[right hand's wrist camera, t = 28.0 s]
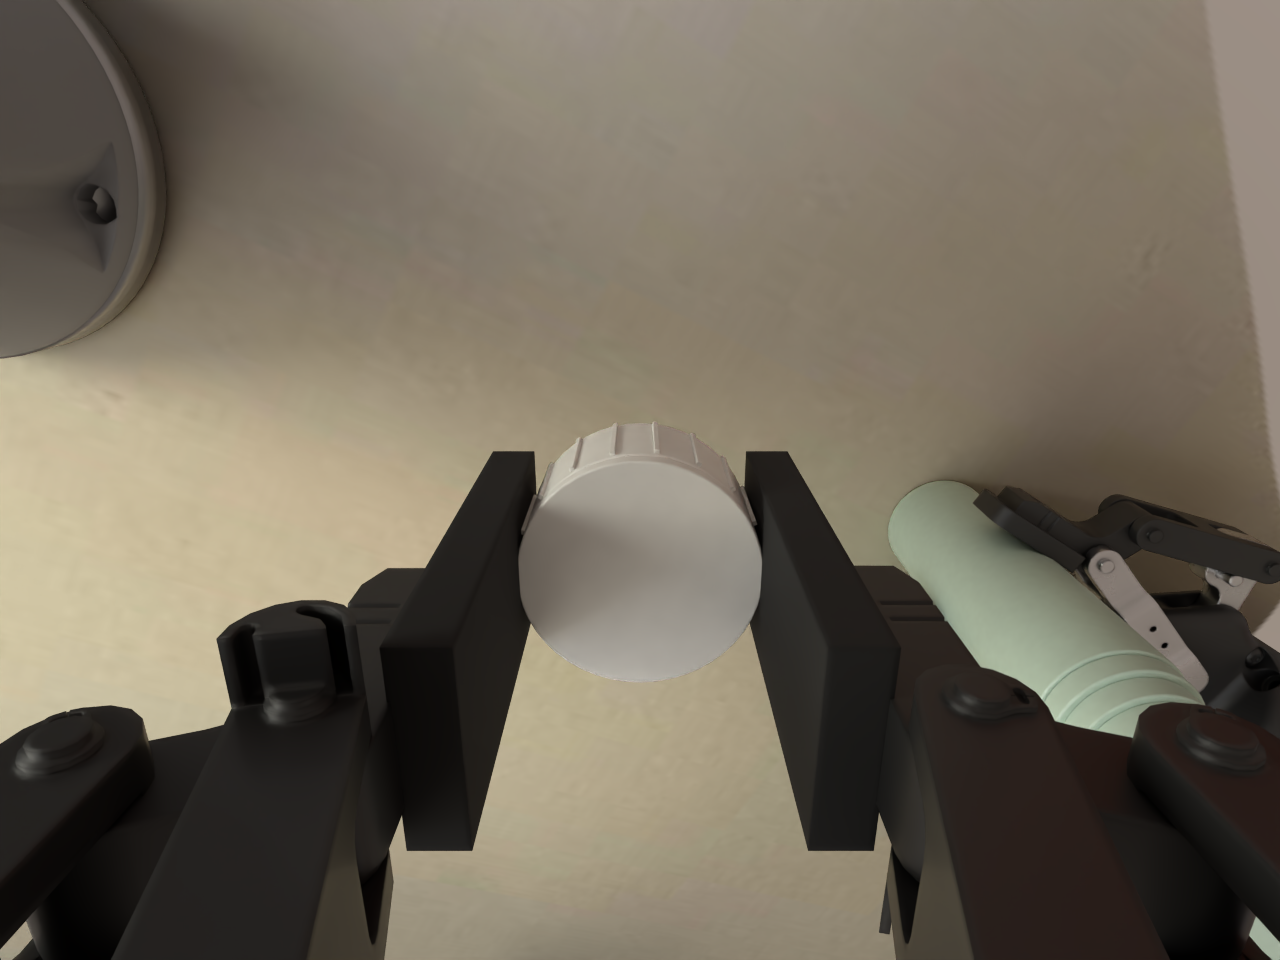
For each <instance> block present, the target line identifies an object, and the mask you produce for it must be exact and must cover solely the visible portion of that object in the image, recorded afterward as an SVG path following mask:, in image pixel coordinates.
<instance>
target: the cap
mask: <svg viewBox="0 0 1280 960" xmlns="http://www.w3.org/2000/svg"><path fill="white" fill-rule="evenodd" d="M755 525H757V522H756V519H755V516H754V514H753V511H752V508H751V505H750V503H749V500H748V497H747V494H746V491H745V489H744V486H741V487H740V486H739V483H738V481H737V479H736V477H735V475H734V474H733V472H732V471H731V469H730V468H729V466H728V464H727V461H726V458H725V457H724V456H723V455H722V456H721V457H720V456H719V455H718V454H717V453H716V452H715V451H714V450H713V449H712V448H710V447H709V446H708V445H707V444H705V443H704V442H702V441H700V440H699V439H697V438H696V435H695V434H694V433H692V432H691V434H687V433H685V432H683V431H680V430H677V429H674V428H671V427H668V426H663V425H658V422H655V421H653V424H646V423H634V424H623V425H618V423H614V424H613V427H609V428H606V429H603V430H600V431H597V432H595V433H593V434H590V435H589V436H587V437H584V438H583V439H581V437H579V438H578V439H576V443H575V444H574V445H572V446H571V447H570V448H569V449H568V450H566V451H565V452H564V453H563V454H562V455H561V456H560V457H559V458H558V459H557V461H556V462H555V463H552V462H551V463H550V464H549V466H548V469H547V472H546V475H545V477H544V480H543V482H542V484H541V486H540V488H539V491H538V494H537V495H535V494H534V496H533V498H532V501H531V504H530V507H529V510H528V512H527V515H526V518H525V521H524V524H523V526H522V529H521V534H522V535H523V538H522V541H521V544H520V547H519V552H518V564H519V581H520V596H521V602H522V605H523V608H524V610H525V612H526V614H527V617H528V619H529V620H530V622H531V624H532V625H533V627H534V628H535V630H536V632H537V633H538V634H539V635H540V637H541V638H542V639H543V640H544V641H545V643H546V644H547V645H548V646H550V647H551V648H552V649H553V650H554V651H555V652H556V653H557V654H559V655H560V656H561V657H563V658H564V659H565V660H567V661H568V662H570V663H572V664H573V665H575V666H577V667H579V668H580V669H583V670H585V671H587V672H590V673H592V674H595V675H598V676H601V677H605V678H608V679H613V680H619V681H625V682H655V681H661V680H667V679H672V678H676V677H679V676H683V675H686V674H688V673H690V672H693V671H695V670H698V669H700V668H702V667H703V666H705V665H707V664H709V663H711V662H712V661H714V660H715V659H716V658H718V657H719V656H720V655H722V654H723V653H724V652H725V651H726V650H728V649H729V648H730V647H731V646H732V645H733V644H734V643H735V642H736V641H737V639H738V638H739V637H740V636H741V634H742V633H743V632H744V631H745V629H746V627H747V626H748V624H749V622H750V621H751V619H752V617H753V615H754V613H755V610H756V608H757V606H758V603H759V599H760V589H761V573H762V550H761V546H760V543H759V540H758V537H757V533H756V531H755V528H754V526H755Z"/></svg>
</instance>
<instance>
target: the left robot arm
mask: <svg viewBox="0 0 1280 960" xmlns="http://www.w3.org/2000/svg"><path fill="white" fill-rule="evenodd" d="M973 504H974V505H975V506H976V507H977V508H978V509H979V510H980V511H981V512H983V513H984V514H985V515H986V516H987V517H988V518H989V519H990V520H992V521H993V522H994V523H996V524H997V525H998V526H1000V527H1001V528H1003V529H1004V530H1006V531H1007V532H1009V533H1011V534H1012V535H1014V536H1015V537H1017V538H1018V539H1020V540H1022V541H1023V542H1025V543H1026V544H1028V545H1029V546H1031V547H1033V548H1034V549H1036V550H1037V551H1039V552H1041V553H1042V554H1044V555H1045V556H1047V557H1049V558H1051V559H1053V560H1054V561H1056V562H1057V563H1058V564H1060V565H1061V566H1063V567H1064V568H1066V569H1067V570H1069V571H1070V572H1072V573H1073V572H1074V573H1075V574H1076V575H1075V577H1076V579H1077V580H1078V581H1079V582H1080V583H1081V584H1082V585H1084V586H1085V587H1086V588H1087V589H1088V590H1089V591H1090V592H1092V593H1093V594H1094V595H1095V596H1096V597H1097V598H1099V599H1100V600H1101V601H1102V602H1103V603H1104V604H1105V605H1107V606H1108V607H1109V608H1110V609H1111V610H1112V611H1113V612H1115V613H1116V614H1117V615H1118V616H1119V617H1120V618H1121V619H1123V620H1124V621H1125V622H1126V623H1127V624H1128V625H1129V626H1131V627H1132V628H1133V629H1134V630H1135V631H1136V632H1137V633H1139V634H1140V635H1141V636H1142V637H1143V638H1144V639H1145V640H1147V641H1148V642H1149V643H1150V644H1151V645H1152V646H1153V647H1155V648H1156V649H1157V650H1158V651H1159V652H1160V653H1161V654H1163V655H1164V656H1165V657H1166V658H1167V659H1168V660H1170V661H1171V662H1172V663H1173V664H1174V665H1175V666H1176V667H1177V668H1178V669H1179V670H1180V671H1181V673H1182V674H1183V676H1184V677H1185V679H1186V680H1187V681H1188V682H1189V683H1191V684H1192V685H1193V686H1194V687H1195V688H1196V689H1197V691H1198V692H1199V694H1200V695H1201V697H1202V699H1203V701H1204V703H1205V705H1206V706H1211V707H1212V708H1214V709H1216V708H1218V709H1222V710H1225V711H1228V712H1231V713H1233V714H1235V715H1236V716H1238V717H1240V718H1242V719H1245V720H1247V721H1249V722H1252V723H1254V724H1256V725H1259V726H1260V727H1262V728H1263V729H1265V730H1267V731H1268V732H1270V733H1271V734H1273V735H1274V736H1276V737H1277V738H1279V739H1280V653H1279V652H1277V651H1276V650H1274V649H1273V648H1271V647H1270V646H1268V645H1267V644H1265V643H1263V642H1262V641H1260V640H1259V639H1257V638H1256V637H1254V636H1253V635H1252V634H1251V633H1250V630H1249V627H1248V624H1247V621H1246V619H1245V618H1244V616H1243V615H1242V614H1241V613H1240V612H1239V609H1240V607H1241V606H1242V604H1243V603H1244V601H1245V600H1246V598H1247V596H1248V595H1249V593H1250V592H1251V590H1252V589H1253V587H1254V585H1255V584H1256V582H1261V583H1265V584H1273V583H1276V582H1278V581H1280V552H1278V551H1276V550H1275V549H1273V548H1271V547H1270V546H1268V545H1266V544H1264V543H1262V542H1261V541H1259V540H1257V539H1255V538H1253V537H1252V536H1249V535H1248V534H1246V533H1244V532H1242V531H1240V530H1239V529H1237V528H1235V527H1232V526H1228V525H1225V524H1221V523H1218V522H1215V521H1211V520H1208V519H1204V518H1201V517H1197V516H1194V515H1190V514H1187V513H1183V512H1180V511H1176V510H1173V509H1169V508H1166V507H1162V506H1159V505H1155V504H1152V503H1148V502H1145V501H1141V500H1138V499H1134V498H1131V497H1127V496H1124V495H1120V494H1116V495H1112V496H1109V497H1107V498H1106V499H1105V500H1103V502H1102V503H1101V504H1100V506H1099V509H1098V514H1097V515H1096V516H1094V517H1092V518H1091V519H1089V520H1086V521H1083V522H1073V521H1070V520H1068V519H1066V518H1065V517H1063V516H1062V515H1060V514H1058V513H1057V512H1055V511H1054V510H1052V509H1051V508H1049V507H1048V506H1046V505H1045V504H1043V503H1042V502H1040V501H1038V500H1037V499H1035V498H1034V497H1032V496H1031V495H1029V494H1028V493H1026V492H1025V491H1023V490H1022V489H1020V488H1014V487H1008V486H1006V487H1005V488H1004V490H1003V491H1002V492H1001V493H1000V494H999V495H998V496H996V495H995V494H993V493H992V492H990V491H989V490H987V489H985V488H984V490H983V491H982V492H981V493H980V494H979V496H978V497H977V498H976V499H975V500H974V502H973ZM1141 549H1144V550H1146V551H1150V552H1154V553H1157V554H1161V555H1164V556H1168V557H1171V558H1175V559H1179V560H1182V561H1186V562H1189V567H1190V570H1191V571H1192V572H1193V573H1194V574H1196V575H1197V576H1199V577H1200V578H1202V580H1203V584H1204V585H1203V590H1202V591H1181V592H1165V593H1150V594H1148V593H1147V592H1146V591H1145V590H1144V588H1143V587H1142V586H1141V585H1140V583H1139V582H1138V580H1137V579H1136V577H1135V576H1134V574H1133V573H1132V572H1131V570H1130V569H1129V567H1128V566H1127V564H1126V563H1125V561H1124V559H1126V558H1128V557H1129V556H1131V555H1133V554H1134V553H1136V552H1138V551H1139V550H1141Z"/></svg>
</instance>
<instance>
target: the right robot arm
mask: <svg viewBox="0 0 1280 960" xmlns="http://www.w3.org/2000/svg"><path fill="white" fill-rule="evenodd" d="M165 213H166V181H165V169H164V162H163V156H162V150H161V146H160V142H159V138H158V133H157V129H156V126H155V123H154V120H153V117H152V114H151V111H150V108H149V106H148V103H147V101H146V99H145V96H144V94H143V92H142V89H141V87H140V85H139V83H138V81H137V79H136V77H135V75H134V73H133V71H132V70H131V68H130V66H129V64H128V62H127V61H126V59H125V57H124V56H123V54H122V53H121V51H120V49H119V48H118V46H117V45H116V43H115V42H114V40H113V39H112V38H111V36H110V35H109V33H108V32H107V31H106V29H105V28H104V27H103V25H102V24H101V23H100V21H99V20H98V19H97V18H96V17H95V16H94V14H93V13H92V12H91V11H90V10H89V9H88V7H87V6H86V5H85V4H84V3H83V2H82V1H81V0H0V358H9V357H15V356H22V355H26V354H30V353H33V352H37V351H41V350H45V349H49V348H53V347H56V346H60V345H64V344H68V343H70V342H73V341H75V340H78V339H81V338H83V337H85V336H87V335H89V334H91V333H93V332H94V331H96V330H98V329H100V328H101V327H103V326H104V325H105V324H107V323H108V322H110V321H111V320H112V319H113V318H115V317H116V316H117V315H118V314H119V313H120V312H121V311H122V310H123V309H124V308H125V307H126V306H127V305H128V304H129V303H130V301H131V300H132V299H133V298H134V297H135V295H136V294H137V292H138V291H139V289H140V288H141V286H142V285H143V283H144V282H145V280H146V278H147V276H148V274H149V272H150V270H151V268H152V266H153V263H154V261H155V258H156V255H157V252H158V250H159V246H160V242H161V238H162V234H163V228H164V220H165ZM744 489H745V491H746V494H747V497H748V500H749V503H750V505H751V508H752V511H753V514H754V516H755V519H756V522H757V525H755V526H754V528H755V531H756V533H757V537H758V540H759V543H760V546H761V550H762V573H761V589H760V599H759V603H758V606H757V608H756V610H755V613H754V615H753V617H752V619H751V621H750V626H751V630H752V634H753V638H754V642H755V645H756V649H757V653H758V657H759V661H760V665H761V669H762V673H763V677H764V680H765V684H766V688H767V692H768V696H769V700H770V704H771V708H772V712H773V715H774V719H775V723H776V727H777V731H778V735H779V739H780V743H781V747H782V750H783V754H784V758H785V762H786V766H787V770H788V774H789V778H790V782H791V785H792V789H793V793H794V797H795V801H796V805H797V809H798V813H799V817H800V820H801V824H802V828H803V832H804V836H805V840H806V844H807V848H808V851H874V845H875V837H876V830H877V823H878V815H879V813H880V816H881V818H882V821H883V823H884V826H885V829H886V831H887V834H888V836H889V839H890V841H891V844H892V846H891V853H890V860H889V867H888V873H887V880H886V887H885V894H884V901H883V908H882V914H881V922H880V929H879V933H885V934H890V928H891V922H892V930H893V938H894V946H895V954H896V960H1272V959H1271V958H1270V957H1269V956H1268V955H1267V954H1266V953H1264V952H1263V951H1262V950H1261V949H1260V947H1259V946H1258V945H1257V944H1256V943H1255V942H1254V941H1253V939H1252V938H1251V937H1250V936H1249V934H1250V931H1251V929H1252V926H1253V923H1254V921H1255V918H1256V917H1257V918H1258V919H1259V920H1260V921H1261V922H1262V924H1263V925H1264V926H1265V927H1266V928H1267V929H1268V930H1269V931H1270V932H1271V933H1272V935H1273V936H1274V937H1275V938H1276V939H1277V940H1278V941H1279V942H1280V739H1279V738H1277V737H1276V736H1274V735H1273V734H1271V733H1270V732H1268V731H1267V730H1265V729H1263V728H1262V727H1260V726H1259V725H1256V724H1254V723H1252V722H1249V721H1247V720H1245V719H1242V718H1240V717H1238V716H1236V715H1235V714H1233V713H1231V712H1228V711H1225V710H1222V709H1218V708H1216V709H1214V708H1212V707H1211V706H1206V705H1201V704H1189V703H1177V702H1168V703H1162V704H1156V705H1151V706H1149V707H1148V708H1147V709H1146V710H1144V711H1143V712H1142V713H1141V714H1140V715H1139V717H1138V721H1137V724H1136V728H1135V732H1134V736H1133V738H1132V737H1127V736H1122V735H1117V734H1112V733H1107V732H1102V731H1097V730H1091V729H1086V728H1081V727H1076V726H1073V725H1069V724H1065V723H1061V722H1057V721H1055V720H1054V718H1053V716H1052V714H1051V712H1050V710H1049V708H1048V706H1047V705H1046V704H1045V703H1044V701H1043V700H1042V699H1041V698H1040V696H1039V695H1038V694H1037V693H1036V692H1035V691H1033V690H1032V689H1031V688H1029V687H1028V686H1026V685H1025V684H1023V683H1022V682H1020V681H1019V680H1017V679H1015V678H1012V677H1010V676H1008V675H1005V674H1003V673H1000V672H998V671H995V670H993V669H988V668H983V667H980V665H979V664H978V663H977V661H976V660H975V658H974V657H973V656H972V654H971V653H970V652H969V650H968V649H967V647H966V646H965V645H964V643H963V642H962V641H961V639H960V638H959V636H958V635H957V634H956V632H955V631H954V630H953V628H952V627H951V625H950V624H949V623H948V621H945V620H944V616H943V614H942V613H941V612H940V610H939V609H938V608H937V606H936V605H933V601H932V599H931V598H930V597H929V595H928V594H927V592H926V591H925V590H924V588H923V587H922V586H921V584H920V583H919V582H918V581H916V580H915V579H913V578H912V577H910V576H909V575H907V574H905V573H904V572H902V571H901V570H899V569H898V568H896V567H894V566H854V565H853V564H852V562H851V560H850V558H849V557H848V555H847V553H846V551H845V550H844V548H843V546H842V545H841V543H840V541H839V539H838V538H837V536H836V534H835V533H834V531H833V529H832V527H831V526H830V524H829V522H828V520H827V519H826V517H825V515H824V514H823V512H822V510H821V508H820V507H819V505H818V503H817V502H816V500H815V498H814V496H813V495H812V493H811V491H810V490H809V488H808V486H807V484H806V483H805V481H804V479H803V477H802V476H801V474H800V472H799V471H798V469H797V467H796V465H795V464H794V462H793V460H792V459H791V457H790V455H789V453H788V452H787V451H746V466H745V486H744ZM534 494H535V495H536V476H535V456H534V451H493V453H492V454H491V456H490V458H489V459H488V461H487V463H486V465H485V466H484V468H483V470H482V471H481V473H480V475H479V477H478V478H477V480H476V482H475V484H474V485H473V487H472V489H471V490H470V492H469V494H468V496H467V497H466V499H465V501H464V502H463V504H462V506H461V508H460V509H459V511H458V513H457V515H456V516H455V518H454V520H453V521H452V523H451V525H450V527H449V528H448V530H447V532H446V533H445V535H444V537H443V539H442V540H441V542H440V544H439V546H438V547H437V549H436V551H435V552H434V554H433V556H432V558H431V559H430V561H429V563H428V564H427V566H426V568H387V569H386V570H384V571H383V572H381V573H379V574H378V575H376V576H375V577H373V578H372V579H370V580H368V581H367V582H365V583H364V584H362V585H361V587H360V588H359V589H358V591H357V592H356V594H355V595H354V596H353V598H352V599H351V600H350V602H349V603H348V608H347V607H346V606H344V605H342V604H338V603H334V602H329V601H325V600H301V601H295V602H289V603H283V604H278V605H274V606H271V607H268V608H265V609H262V610H259V611H256V612H253V613H250V614H249V615H247V616H245V617H243V618H242V619H240V620H238V621H236V622H235V623H233V624H231V625H229V626H228V627H227V628H226V630H225V631H224V632H223V633H222V634H221V635H220V636H219V637H218V638H217V644H218V648H219V653H220V657H221V662H222V666H223V671H224V675H225V680H226V685H227V689H228V694H229V698H230V703H231V707H232V709H231V711H230V713H229V715H228V717H227V719H226V721H225V724H224V725H221V726H218V727H214V728H210V729H206V730H201V731H196V732H191V733H186V734H181V735H176V736H171V737H166V738H161V739H156V740H151V741H148V737H147V733H146V729H145V726H144V722H143V718H141V717H140V716H139V715H138V714H137V713H135V712H134V711H133V710H132V709H128V708H122V707H117V706H111V705H110V706H99V707H86V708H79V709H74V710H70V712H66V711H65V712H62V713H59V714H56V715H52V716H50V717H48V718H46V719H45V720H43V721H41V722H38V723H36V724H34V725H32V726H29V727H27V728H25V729H23V730H21V731H19V732H18V733H16V734H15V735H13V736H12V737H10V738H9V739H7V740H6V741H4V742H3V743H1V744H0V949H1V948H2V947H3V946H4V945H5V943H6V942H7V941H8V940H9V939H10V938H11V937H12V936H13V935H14V933H15V932H16V931H17V930H18V929H19V928H20V927H21V926H22V925H23V923H24V922H25V921H27V924H28V927H29V929H30V932H31V935H32V937H33V939H32V940H31V941H30V942H29V943H28V945H27V946H26V947H25V948H24V949H23V950H22V951H21V953H20V954H19V955H17V956H16V957H15V958H14V959H13V960H384V956H385V948H386V940H387V931H388V923H389V915H390V907H391V899H392V890H393V882H394V881H393V874H392V867H391V860H390V853H389V847H390V844H391V842H392V839H393V837H394V834H395V831H396V829H397V826H398V824H399V821H400V818H401V816H402V819H403V826H404V833H405V841H406V848H407V851H472V850H473V846H474V842H475V838H476V834H477V830H478V826H479V822H480V819H481V815H482V811H483V807H484V803H485V799H486V795H487V791H488V787H489V784H490V780H491V776H492V772H493V768H494V764H495V760H496V756H497V752H498V749H499V745H500V741H501V737H502V733H503V729H504V725H505V721H506V717H507V714H508V710H509V706H510V702H511V698H512V694H513V690H514V686H515V682H516V679H517V675H518V671H519V667H520V663H521V659H522V655H523V651H524V647H525V644H526V640H527V636H528V632H529V628H530V624H531V622H530V620H529V619H528V617H527V614H526V612H525V610H524V608H523V605H522V602H521V596H520V581H519V564H518V552H519V547H520V544H521V541H522V538H523V535H522V534H521V529H522V526H523V524H524V521H525V518H526V515H527V512H528V510H529V507H530V504H531V501H532V498H533V496H534ZM0 960H1V959H0Z"/></svg>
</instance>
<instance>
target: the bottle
mask: <svg viewBox="0 0 1280 960" xmlns="http://www.w3.org/2000/svg"><path fill="white" fill-rule="evenodd" d="M978 496H979V494H978V493H977V492H976V491H975V490H973V489H972V488H971V487H969V486H967V485H965V484H962V483H959V482H955V481H946V480H945V481H935V482H930V483H927V484H924V485H922V486H919V487H917V488H916V489H914V490H912V491H911V492H910V493H908V494H907V495H906V496H905V497H904V498H903V499H902V500H901V501H900V502H899V503H898V505H897V506H896V508H895V509H894V511H893V513H892V516H891V518H890V522H889V526H888V538H889V543H890V546H891V548H892V550H893V552H894V554H895V555H896V557H897V558H898V559H899V561H900V562H901V564H902V565H903V566H904V568H905V569H906V570H907V572H908V573H909V575H910V576H911V577H912V578H913V579H915V580H916V581H918V582H919V583H920V584H921V586H922V587H923V588H924V590H925V591H926V592H927V594H928V595H929V597H930V598H931V599H932V601H933V605H936V606H937V608H938V609H939V610H940V612H941V613H942V614H943V616H944V620H945V621H948V623H949V624H950V625H951V627H952V628H953V630H954V631H955V632H956V634H957V635H958V636H959V638H960V639H961V641H962V642H963V643H964V645H965V646H966V647H967V649H968V650H969V652H970V653H971V654H972V656H973V657H974V658H975V660H976V661H977V663H978V664H979V665H980V667H983V668H988V669H993V670H995V671H998V672H1000V673H1003V674H1005V675H1008V676H1010V677H1012V678H1015V679H1017V680H1019V681H1020V682H1022V683H1023V684H1025V685H1026V686H1028V687H1029V688H1031V689H1032V690H1033V691H1035V692H1036V693H1037V694H1038V695H1039V696H1040V698H1041V699H1042V700H1043V701H1044V703H1045V704H1046V705H1047V706H1048V708H1049V710H1050V712H1051V714H1052V716H1053V718H1054V720H1055V721H1057V722H1061V723H1065V724H1069V725H1073V726H1076V727H1081V728H1086V729H1091V730H1097V731H1102V732H1107V733H1112V734H1117V735H1122V736H1127V737H1132V738H1133V736H1134V732H1135V728H1136V724H1137V721H1138V717H1139V715H1140V714H1141V713H1142V712H1143V711H1144V710H1146V709H1147V708H1148V707H1149V706H1151V705H1156V704H1162V703H1168V702H1177V703H1189V704H1201V705H1205V703H1204V701H1203V699H1202V697H1201V695H1200V694H1199V692H1198V691H1197V689H1196V688H1195V687H1194V686H1193V685H1192V684H1191V683H1189V682H1188V681H1187V680H1186V679H1185V677H1184V676H1183V674H1182V673H1181V671H1180V670H1179V669H1178V668H1177V667H1176V666H1175V665H1174V664H1173V663H1172V662H1171V661H1170V660H1168V659H1167V658H1166V657H1165V656H1164V655H1163V654H1161V653H1160V652H1159V651H1158V650H1157V649H1156V648H1155V647H1153V646H1152V645H1151V644H1150V643H1149V642H1148V641H1147V640H1145V639H1144V638H1143V637H1142V636H1141V635H1140V634H1139V633H1137V632H1136V631H1135V630H1134V629H1133V628H1132V627H1131V626H1129V625H1128V624H1127V623H1126V622H1125V621H1124V620H1123V619H1121V618H1120V617H1119V616H1118V615H1117V614H1116V613H1115V612H1113V611H1112V610H1111V609H1110V608H1109V607H1108V606H1107V605H1105V604H1104V603H1103V602H1102V601H1101V600H1100V599H1099V598H1097V597H1096V596H1095V595H1094V594H1093V593H1092V592H1090V591H1089V590H1088V589H1087V588H1086V587H1085V586H1084V585H1082V584H1081V583H1080V582H1079V581H1078V580H1077V579H1076V578H1074V577H1073V576H1072V575H1071V574H1070V573H1069V572H1068V571H1066V570H1065V569H1064V568H1063V567H1062V566H1061V565H1060V564H1058V563H1057V562H1056V561H1054V560H1053V559H1051V558H1049V557H1047V556H1045V555H1044V554H1042V553H1041V552H1039V551H1037V550H1036V549H1034V548H1033V547H1031V546H1029V545H1028V544H1026V543H1025V542H1023V541H1022V540H1020V539H1018V538H1017V537H1015V536H1014V535H1012V534H1011V533H1009V532H1007V531H1006V530H1004V529H1003V528H1001V527H1000V526H998V525H997V524H996V523H994V522H993V521H992V520H990V519H989V518H988V517H987V516H986V515H985V514H984V513H983V512H981V511H980V510H979V509H978V508H977V507H976V506H975V505H974V504H973V502H974V500H975V499H976V498H977V497H978ZM1249 936H1250V937H1251V938H1252V939H1253V941H1254V942H1255V943H1256V944H1257V945H1258V946H1259V947H1260V949H1261V950H1262V951H1263V952H1264V953H1266V954H1267V955H1268V956H1269V957H1270V958H1271V959H1272V960H1280V942H1279V941H1278V940H1277V939H1276V938H1275V937H1274V936H1273V935H1272V933H1271V932H1270V931H1269V930H1268V929H1267V928H1266V927H1265V926H1264V925H1263V924H1262V922H1261V921H1260V920H1259V919H1258V918H1257V917H1256V918H1255V921H1254V923H1253V926H1252V929H1251V931H1250V934H1249Z"/></svg>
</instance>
